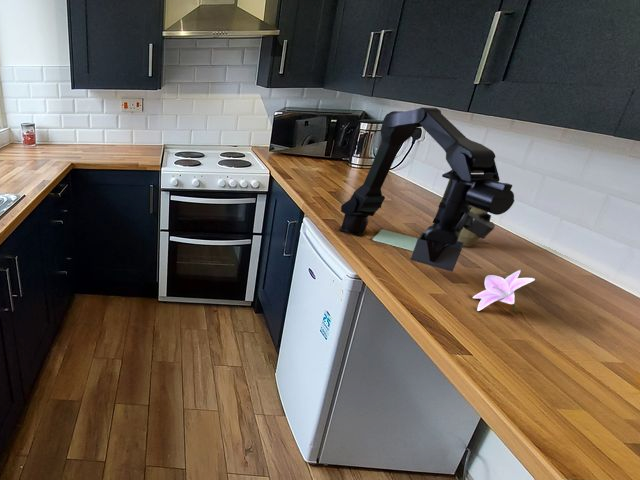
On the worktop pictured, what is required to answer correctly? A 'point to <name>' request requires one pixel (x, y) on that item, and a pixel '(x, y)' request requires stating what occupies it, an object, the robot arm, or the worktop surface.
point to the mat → (396, 239)
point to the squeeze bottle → (465, 234)
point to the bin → (445, 258)
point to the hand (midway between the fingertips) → (434, 257)
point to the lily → (501, 289)
